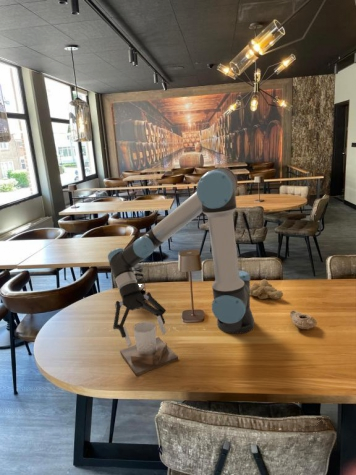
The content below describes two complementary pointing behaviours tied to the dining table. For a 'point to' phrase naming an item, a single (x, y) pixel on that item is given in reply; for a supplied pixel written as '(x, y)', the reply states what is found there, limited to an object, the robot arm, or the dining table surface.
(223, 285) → the robot arm
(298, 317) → the pottery oil lamp
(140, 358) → the brown flat square slab
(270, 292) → the ginger root
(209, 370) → the dining table surface
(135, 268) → the french press
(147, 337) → the white cup
